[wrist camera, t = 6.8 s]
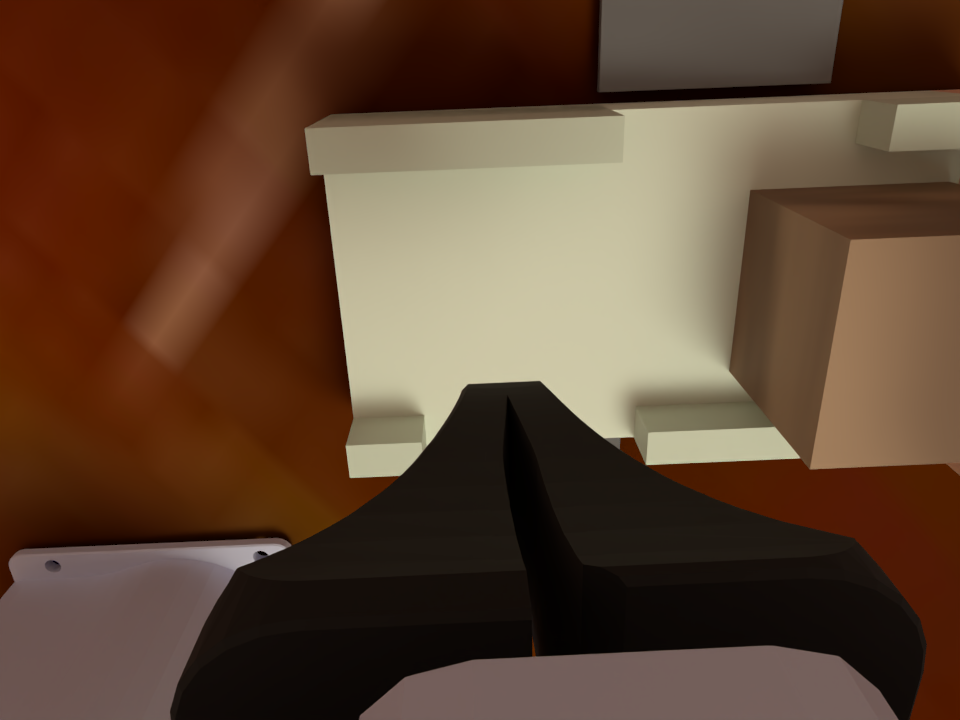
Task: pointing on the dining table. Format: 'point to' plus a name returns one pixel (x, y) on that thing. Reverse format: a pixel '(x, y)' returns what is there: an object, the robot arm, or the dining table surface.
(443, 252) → the trap lane
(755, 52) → the mats
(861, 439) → the walnut block
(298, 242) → the dining table surface
